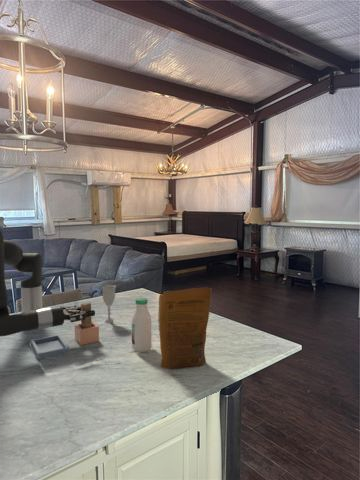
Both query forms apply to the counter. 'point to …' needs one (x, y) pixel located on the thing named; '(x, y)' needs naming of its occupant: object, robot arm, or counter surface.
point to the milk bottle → (141, 327)
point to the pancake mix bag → (183, 327)
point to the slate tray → (49, 346)
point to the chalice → (108, 299)
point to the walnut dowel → (87, 321)
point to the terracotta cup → (86, 334)
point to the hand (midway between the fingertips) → (91, 310)
